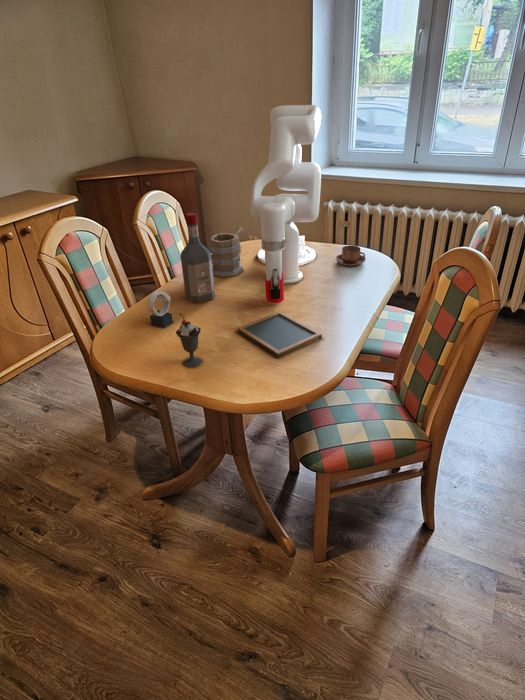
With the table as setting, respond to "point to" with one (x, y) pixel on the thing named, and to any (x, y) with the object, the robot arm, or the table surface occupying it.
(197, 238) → the liquor
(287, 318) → the chalkboard
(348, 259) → the cup and saucer
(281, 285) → the beverage can
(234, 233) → the tankard
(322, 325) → the table surface
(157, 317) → the ring sculpture on stand
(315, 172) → the robot arm
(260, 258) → the dish
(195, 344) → the sundae
